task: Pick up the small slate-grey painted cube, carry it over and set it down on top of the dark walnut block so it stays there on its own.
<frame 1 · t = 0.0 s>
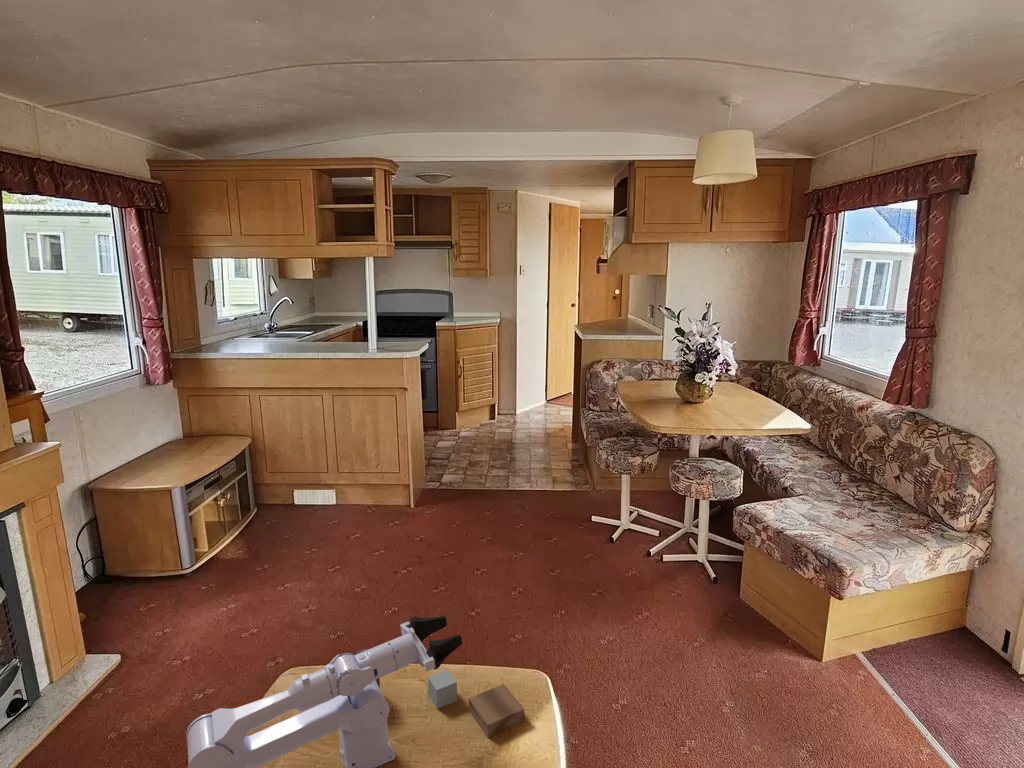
hand: (453, 629, 125), 22 cm above the table, tool horizontal, fingers open, 7 cm apart
walnut block: (496, 717, 130), on the table
supplement bottle: (367, 698, 135), on the table
grey cube: (442, 698, 135), on the table
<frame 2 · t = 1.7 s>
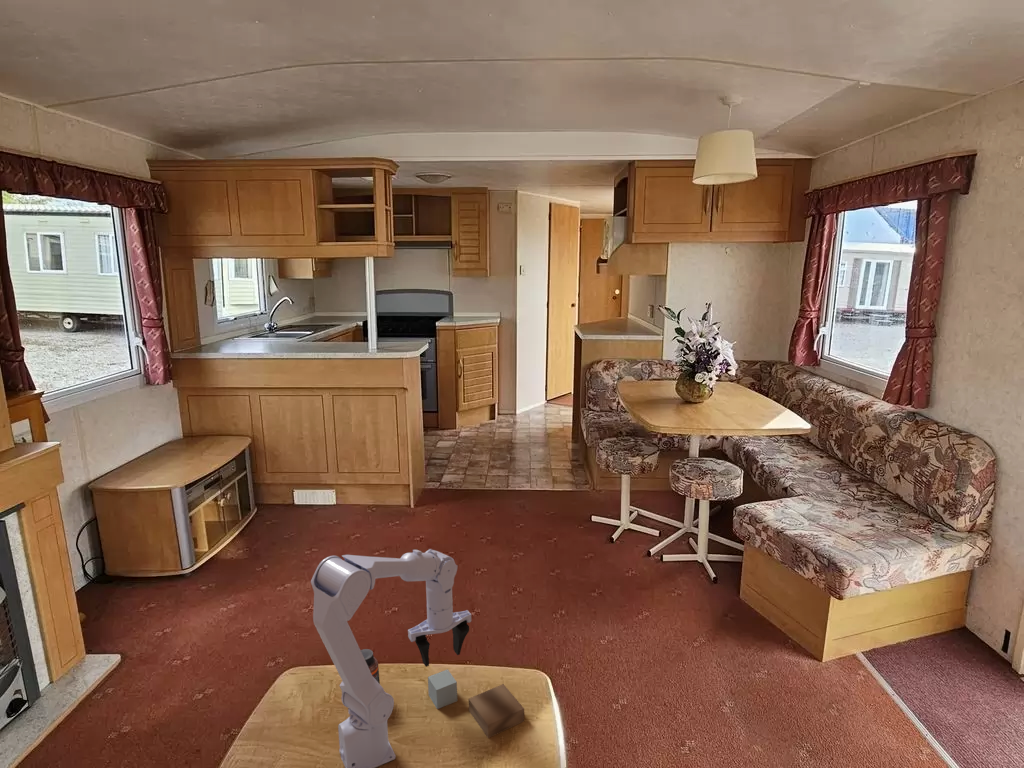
hand: (441, 658, 133), 10 cm above the table, tool pointing down, fingers open, 7 cm apart
nothing on the table moved.
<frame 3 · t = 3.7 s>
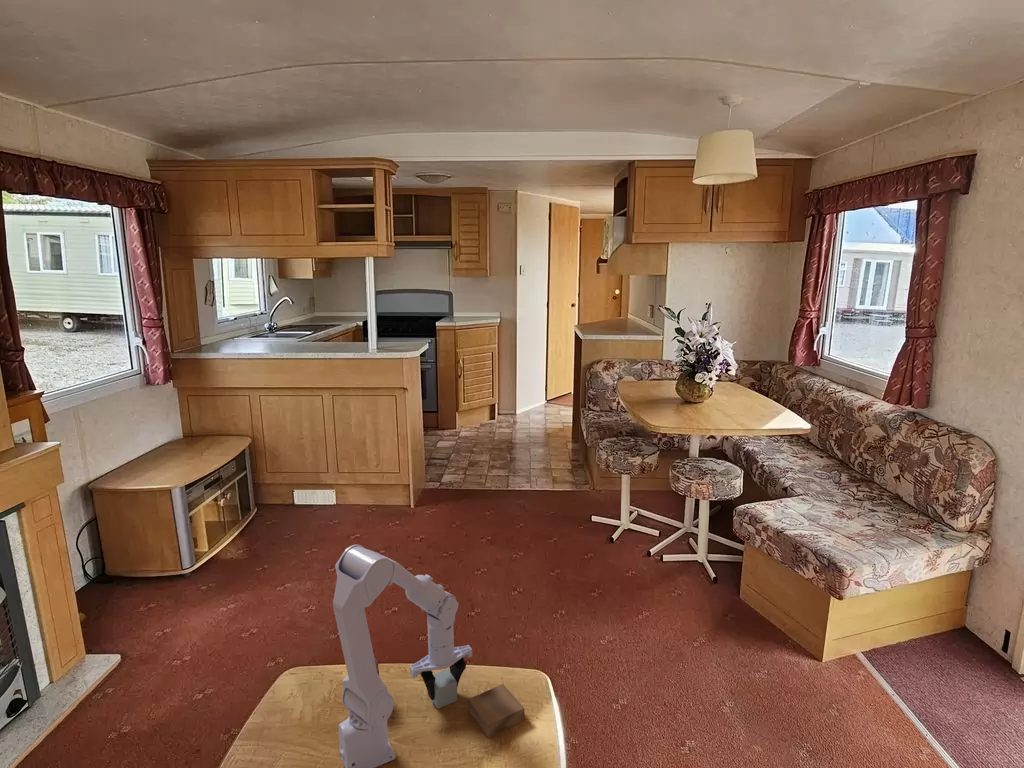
hand: (442, 692, 135), 1 cm above the table, tool pointing down, fingers closed on grey cube, 5 cm apart
grey cube: (442, 698, 135), on the table, touching gripper
everything else where it was.
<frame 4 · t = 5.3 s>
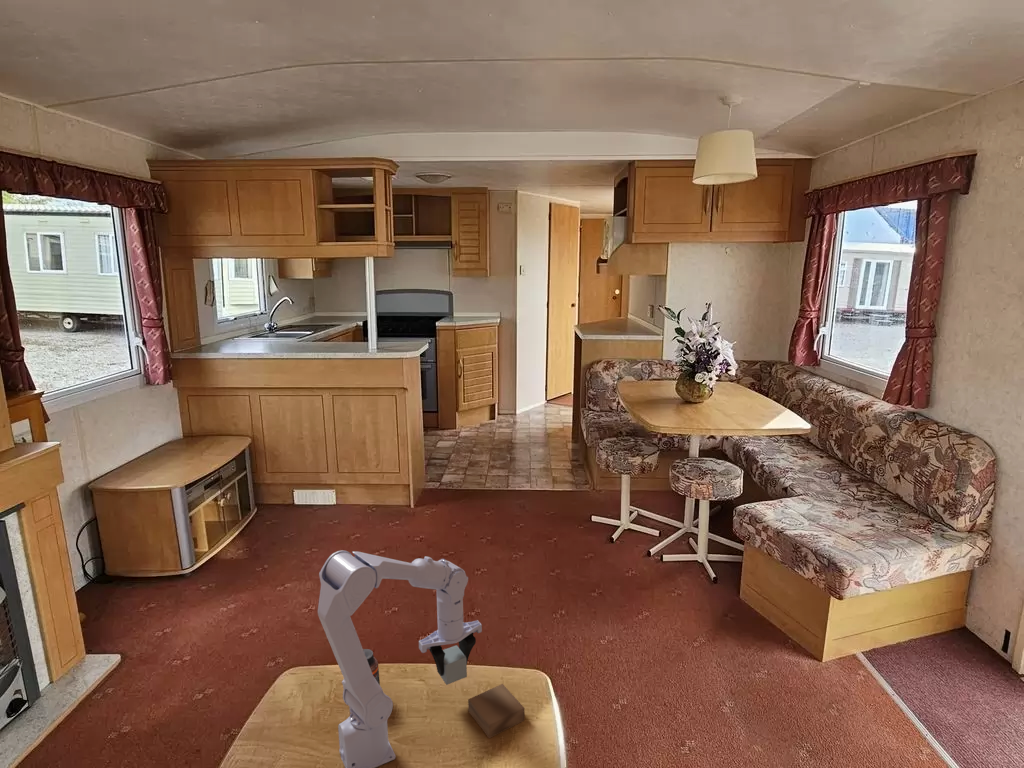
hand: (452, 668, 132), 8 cm above the table, tool pointing down, fingers closed on grey cube, 5 cm apart
grey cube: (452, 674, 133), point 7 cm above the table, touching gripper
everything else where it was.
when the fingers open (6 cm above the table, at t = 7.0 s): grey cube drops 2 cm, point 3 cm above the table.
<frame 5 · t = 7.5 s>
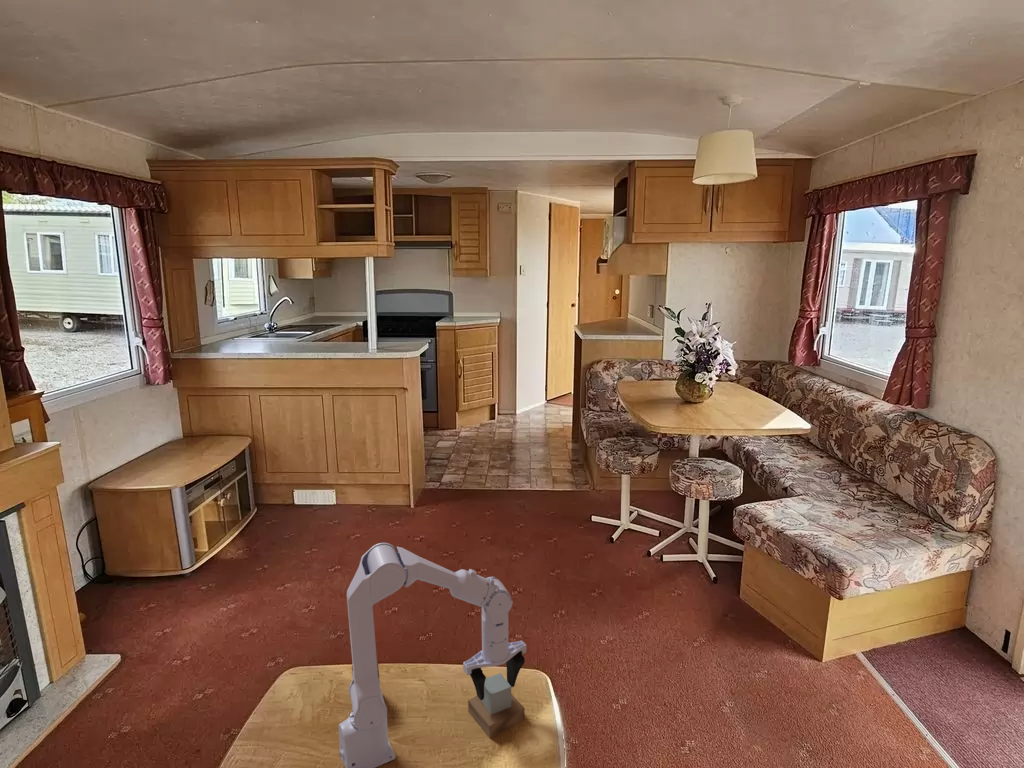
hand: (495, 690, 128), 6 cm above the table, tool pointing down, fingers open, 7 cm apart
grey cube: (495, 703, 129), point 3 cm above the table
everything else where it was.
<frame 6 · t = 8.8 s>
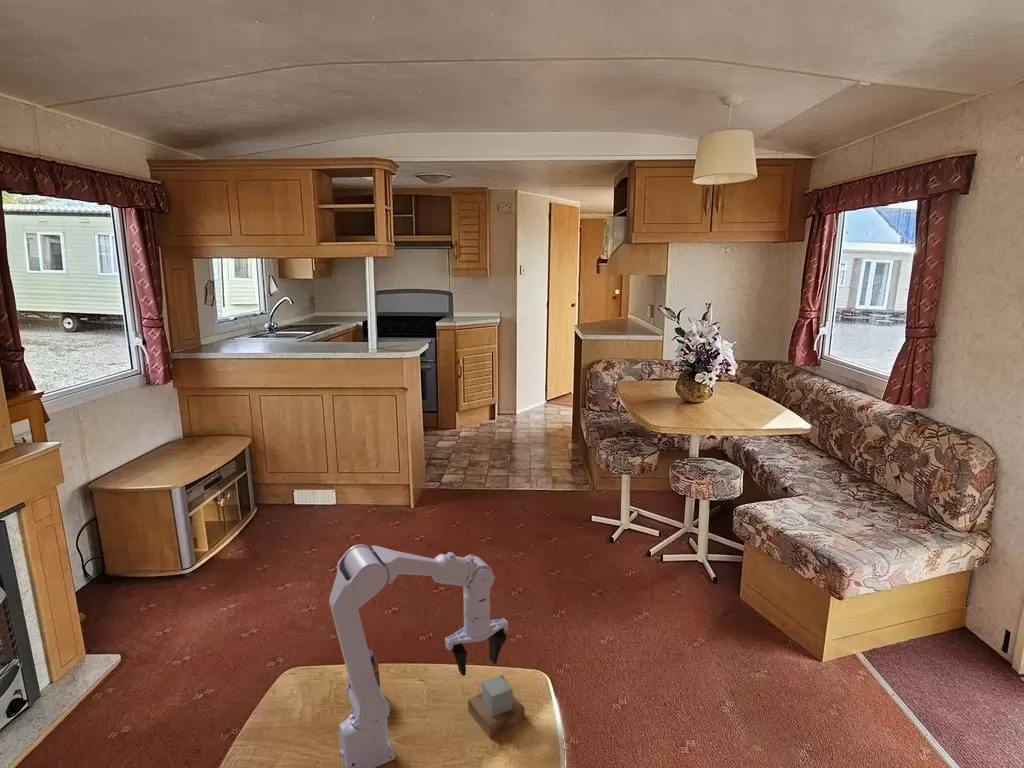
hand: (477, 666, 130), 10 cm above the table, tool pointing down, fingers open, 7 cm apart
walnut block: (496, 717, 130), on the table, touching grey cube
grey cube: (497, 705, 129), point 3 cm above the table, touching walnut block
everything else where it was.
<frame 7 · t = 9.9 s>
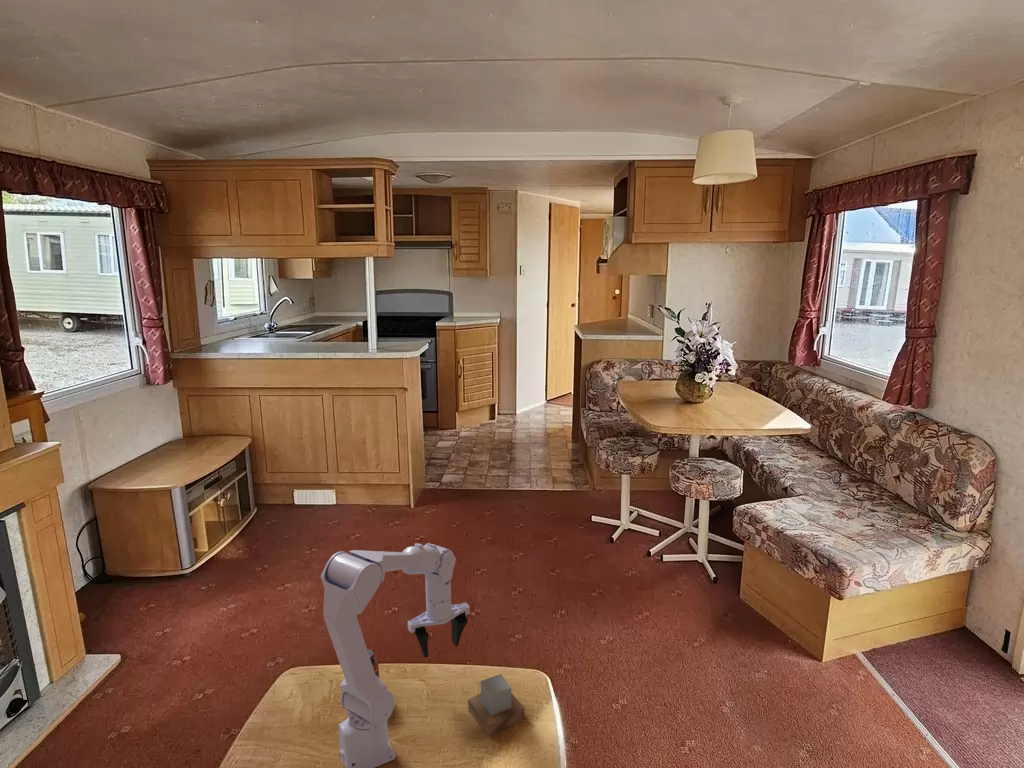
hand: (440, 649, 136), 10 cm above the table, tool pointing down, fingers open, 7 cm apart
nothing on the table moved.
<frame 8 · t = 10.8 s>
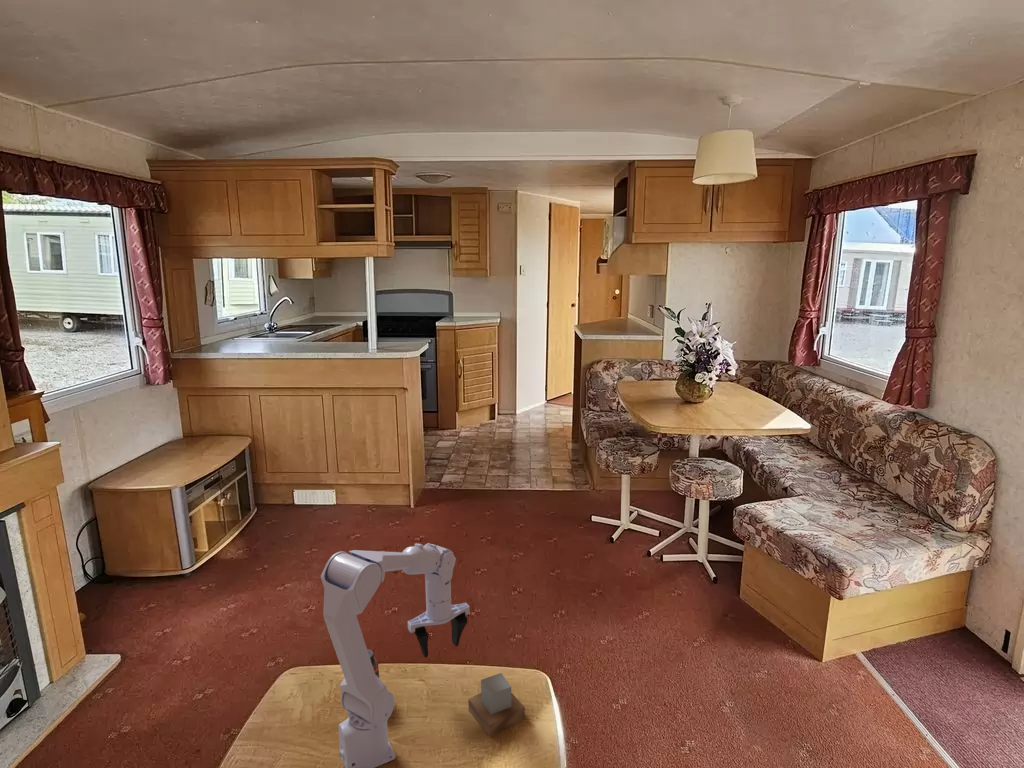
hand: (440, 649, 136), 10 cm above the table, tool pointing down, fingers open, 7 cm apart
nothing on the table moved.
at the end: grey cube 0.1 cm off-centre on the walnut block, point 3.5 cm above the walnut block's base; grey cube tilted 0°; the gripper is holding nothing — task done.
